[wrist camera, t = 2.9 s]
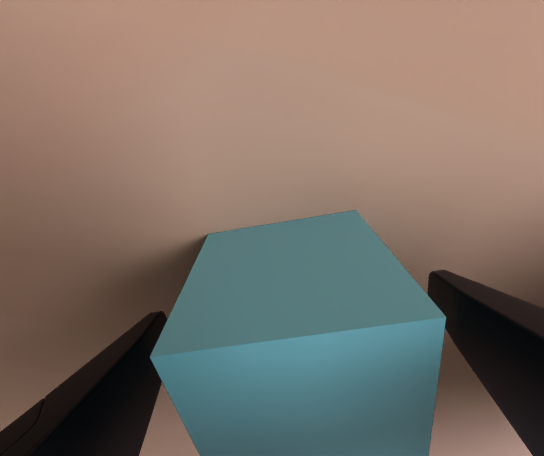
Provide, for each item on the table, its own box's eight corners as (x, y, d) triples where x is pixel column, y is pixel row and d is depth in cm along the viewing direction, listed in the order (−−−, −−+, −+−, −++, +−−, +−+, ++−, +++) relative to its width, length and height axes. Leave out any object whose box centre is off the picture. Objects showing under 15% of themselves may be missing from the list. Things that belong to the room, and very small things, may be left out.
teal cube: (355, 209, 9) (446, 317, 4) (360, 322, 11) (425, 477, 6) (208, 232, 9) (149, 357, 5) (240, 338, 11) (221, 497, 7)
